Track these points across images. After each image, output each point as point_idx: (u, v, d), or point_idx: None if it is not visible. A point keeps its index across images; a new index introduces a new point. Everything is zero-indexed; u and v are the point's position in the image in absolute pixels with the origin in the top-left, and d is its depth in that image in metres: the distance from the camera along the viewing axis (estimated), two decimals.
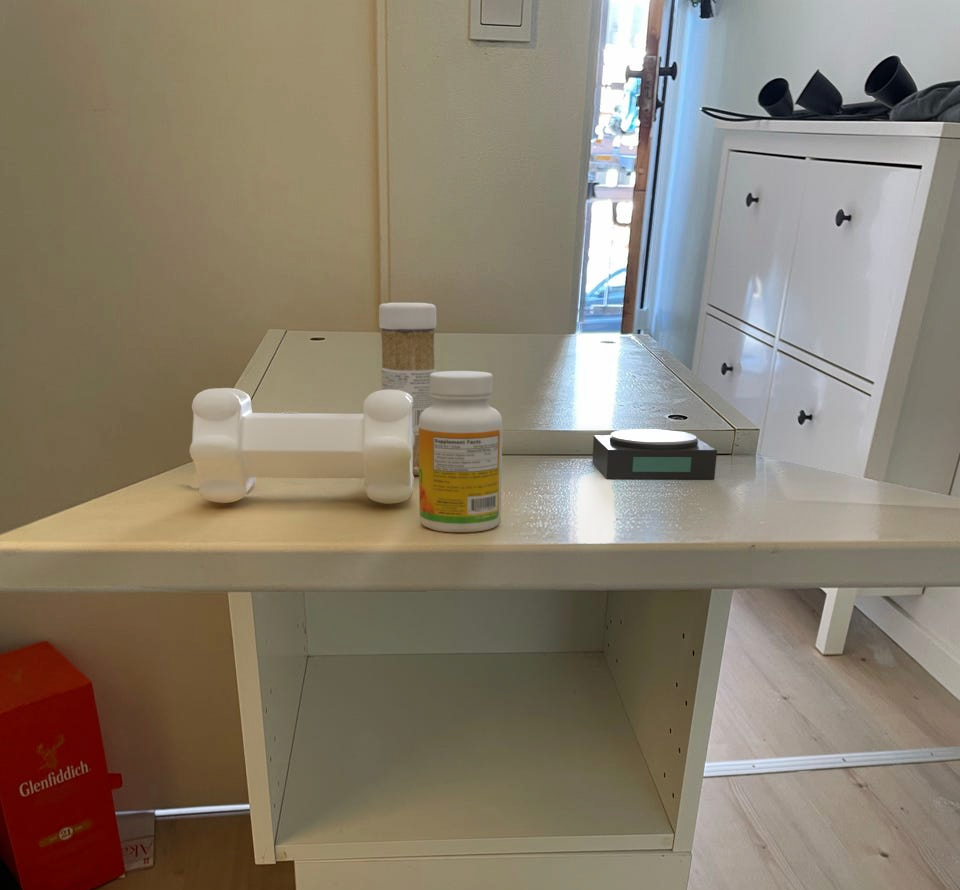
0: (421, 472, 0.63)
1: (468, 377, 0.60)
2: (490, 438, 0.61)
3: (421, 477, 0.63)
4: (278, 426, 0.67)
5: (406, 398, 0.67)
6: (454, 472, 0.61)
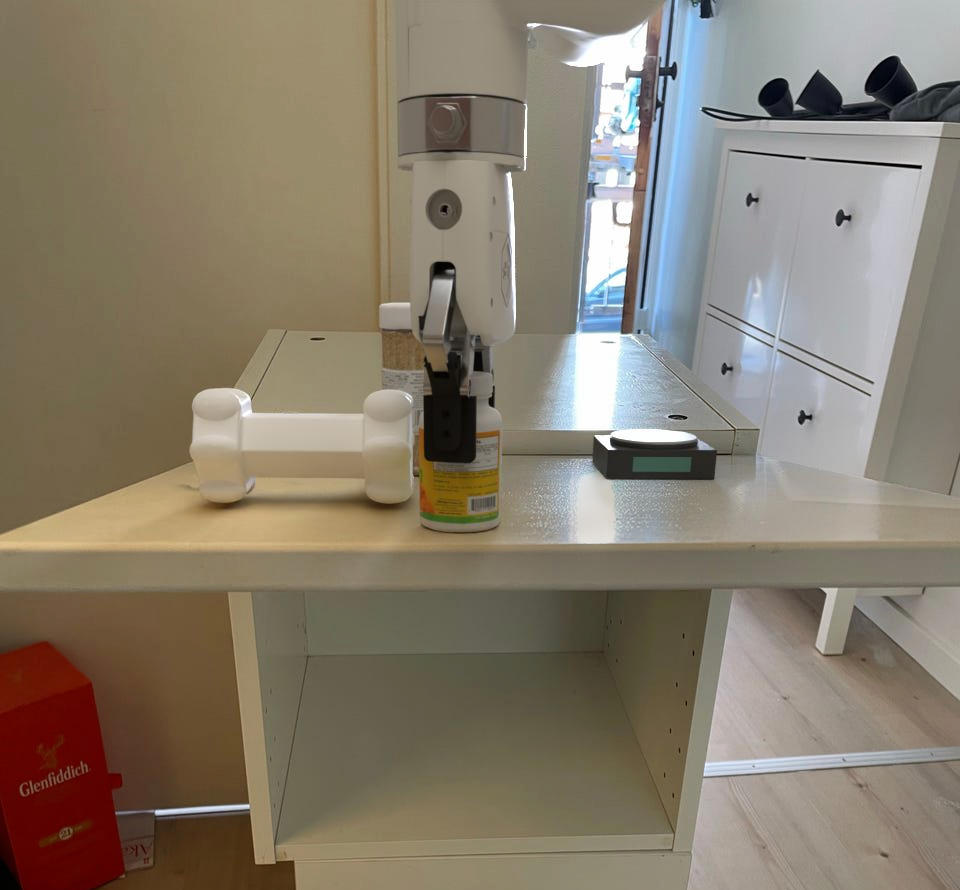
0: (421, 472, 0.63)
1: None
2: (490, 438, 0.61)
3: (421, 477, 0.63)
4: (278, 426, 0.67)
5: (406, 398, 0.67)
6: (454, 472, 0.61)
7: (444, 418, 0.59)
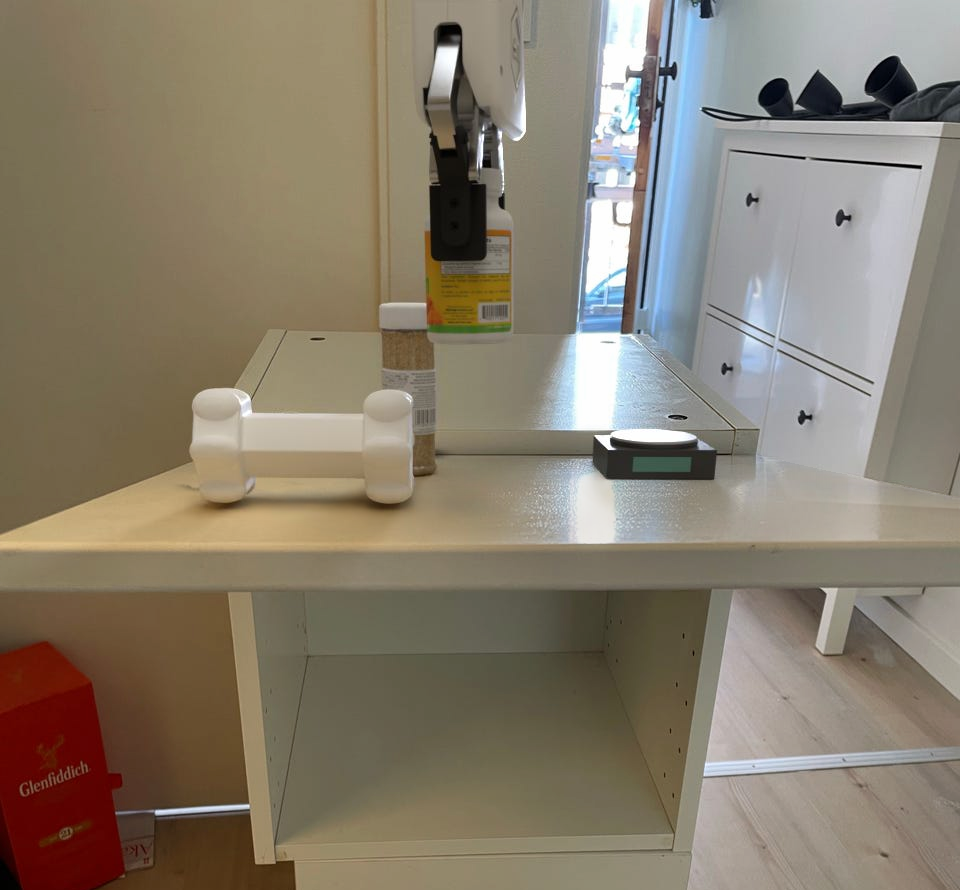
0: (428, 281, 0.59)
1: None
2: (501, 238, 0.57)
3: (428, 286, 0.59)
4: (278, 426, 0.67)
5: (406, 398, 0.67)
6: (463, 275, 0.57)
7: (452, 207, 0.55)
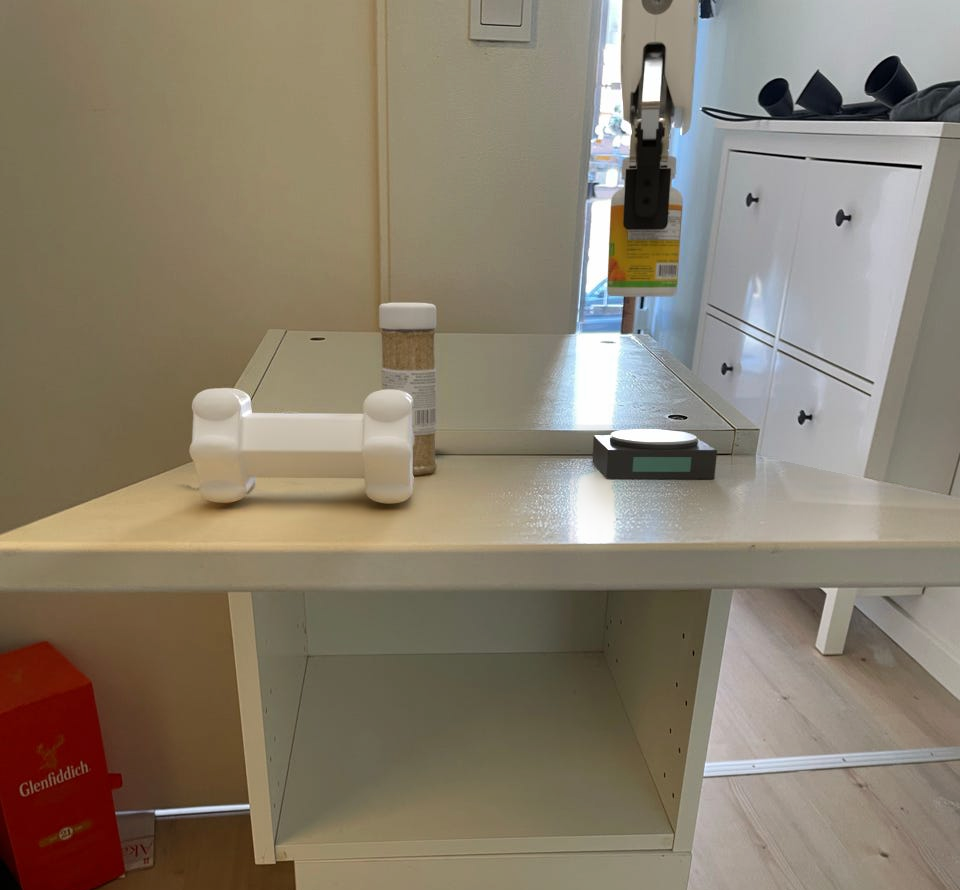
0: (613, 245, 0.74)
1: None
2: (676, 211, 0.72)
3: (613, 250, 0.74)
4: (278, 426, 0.67)
5: (406, 398, 0.67)
6: (646, 240, 0.72)
7: (644, 186, 0.70)
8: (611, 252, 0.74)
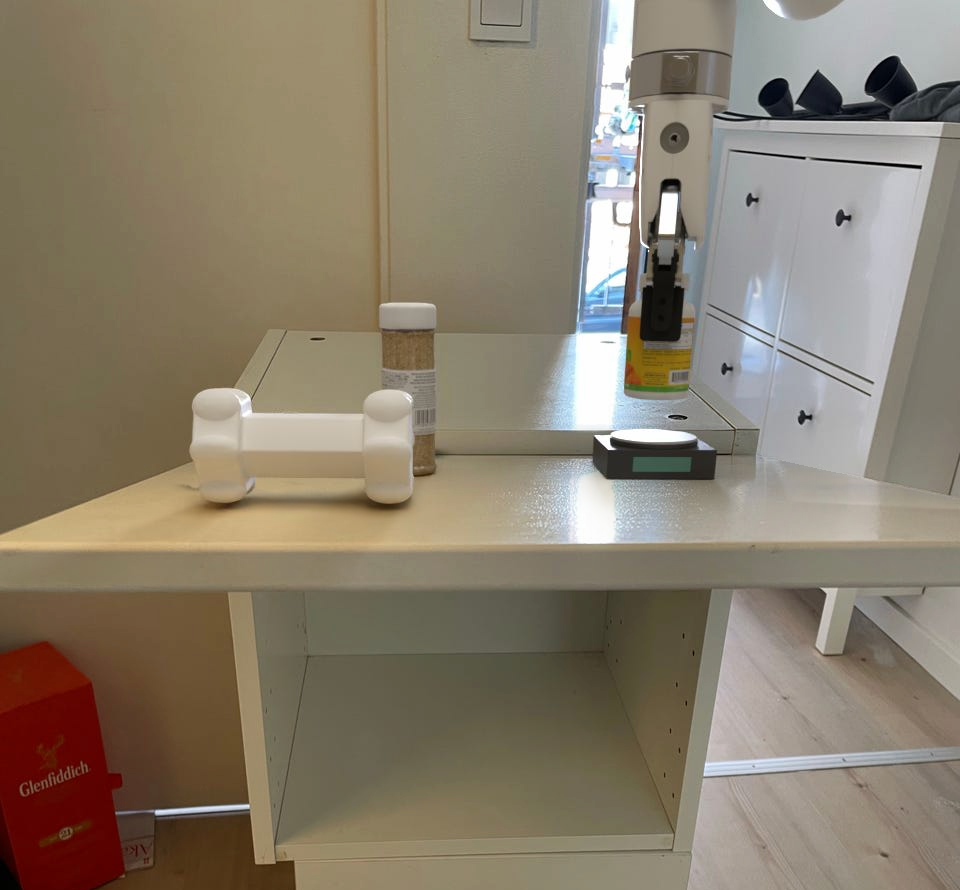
0: (630, 352, 0.80)
1: (675, 274, 0.77)
2: (689, 324, 0.78)
3: (630, 356, 0.80)
4: (278, 426, 0.67)
5: (406, 398, 0.67)
6: (660, 350, 0.78)
7: (660, 304, 0.76)
8: (628, 358, 0.80)
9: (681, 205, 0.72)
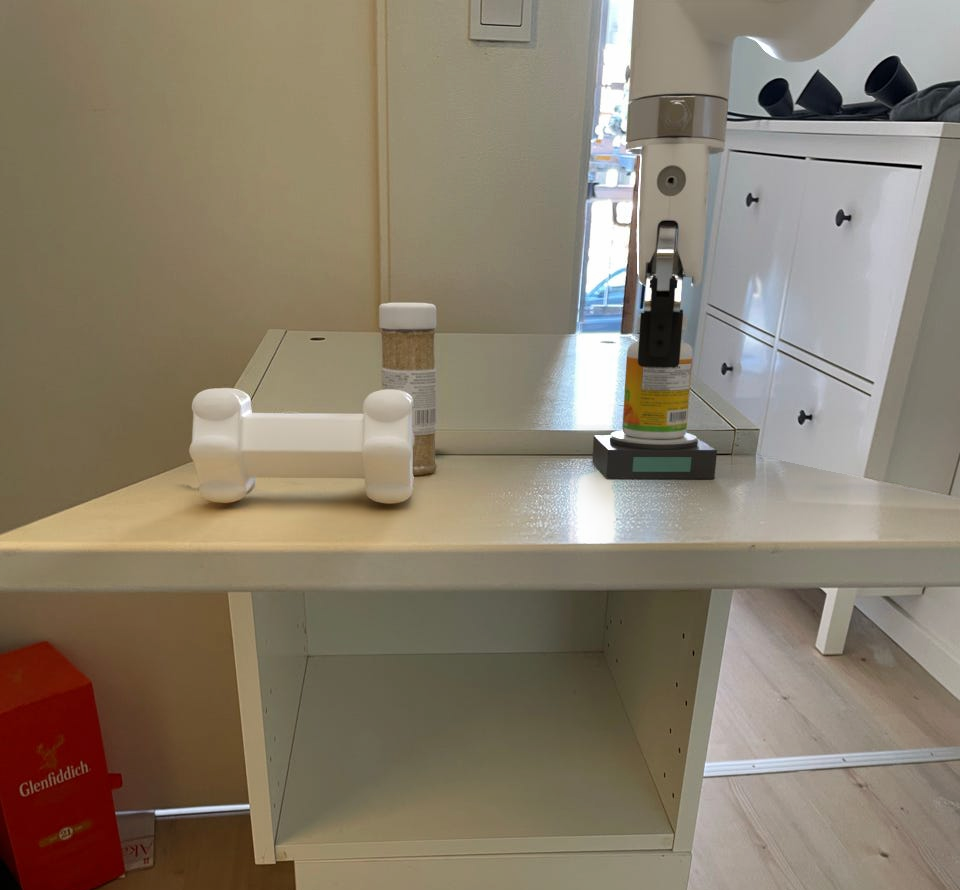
0: (629, 392, 0.81)
1: None
2: (686, 365, 0.79)
3: (628, 396, 0.81)
4: (278, 426, 0.67)
5: (406, 398, 0.67)
6: (658, 391, 0.79)
7: (658, 330, 0.75)
8: (626, 397, 0.81)
9: (678, 246, 0.73)
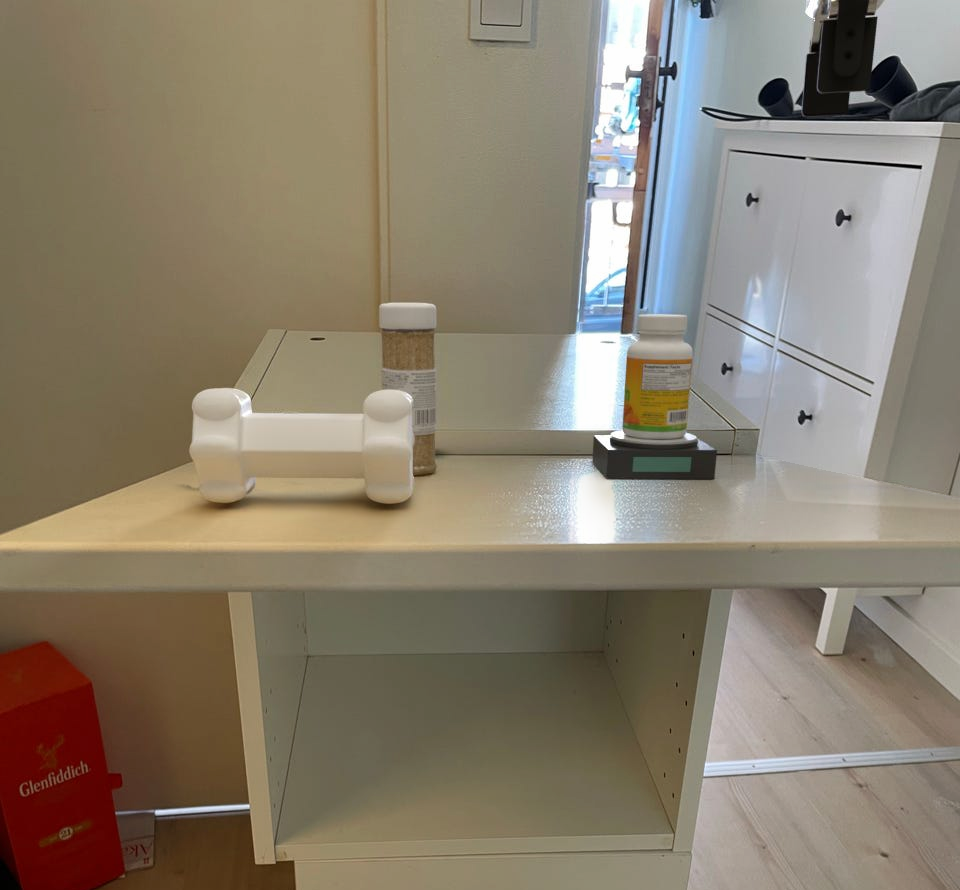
0: (629, 392, 0.81)
1: (672, 316, 0.78)
2: (686, 365, 0.79)
3: (628, 396, 0.81)
4: (278, 426, 0.67)
5: (406, 398, 0.67)
6: (658, 391, 0.79)
7: (847, 38, 0.61)
8: (626, 397, 0.81)
9: None
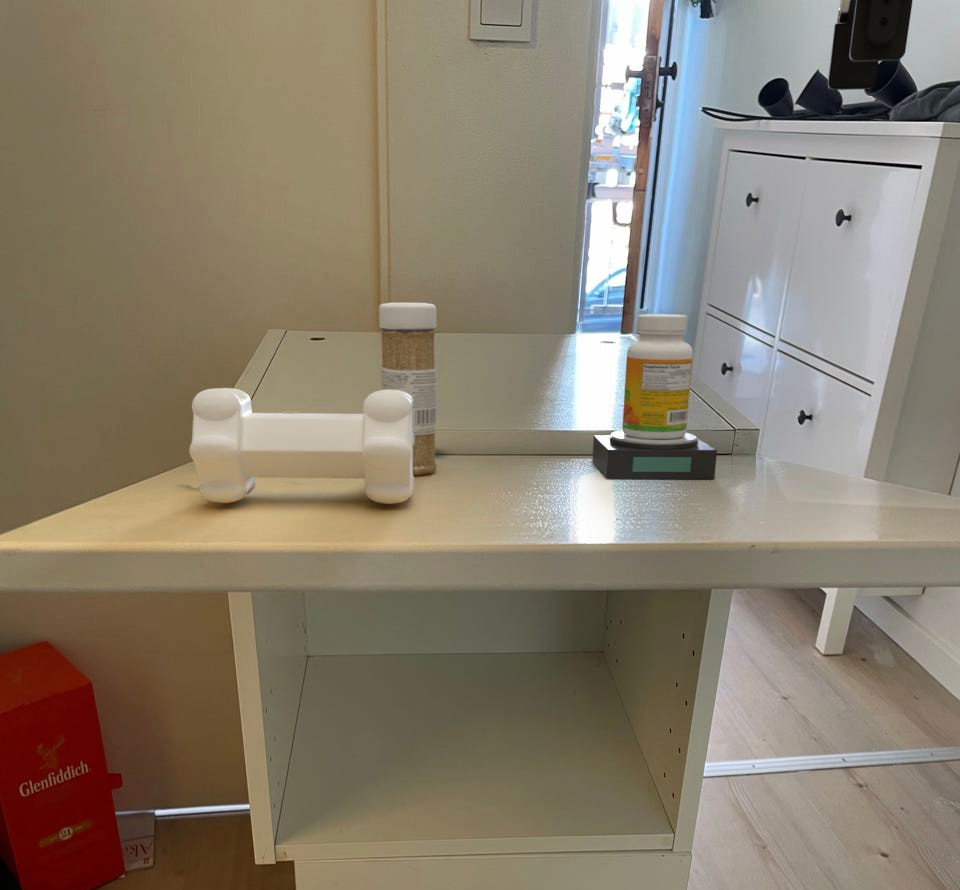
0: (629, 392, 0.81)
1: (672, 316, 0.78)
2: (686, 365, 0.79)
3: (628, 396, 0.81)
4: (278, 426, 0.67)
5: (406, 398, 0.67)
6: (658, 391, 0.79)
7: (883, 4, 0.59)
8: (626, 397, 0.81)
9: None
